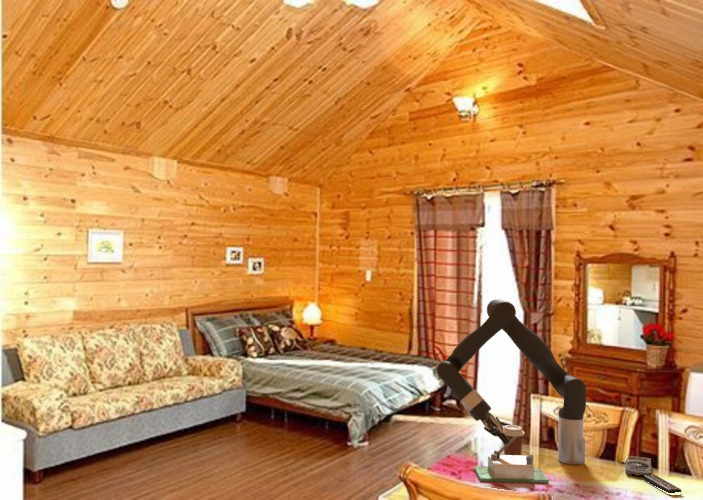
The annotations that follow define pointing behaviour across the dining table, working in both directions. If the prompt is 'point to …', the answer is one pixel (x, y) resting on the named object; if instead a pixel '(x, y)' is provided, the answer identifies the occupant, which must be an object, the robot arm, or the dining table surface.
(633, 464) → the graphics card
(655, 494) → the dining table surface
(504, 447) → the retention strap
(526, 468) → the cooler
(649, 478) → the multiport hub
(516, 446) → the coffee cup
